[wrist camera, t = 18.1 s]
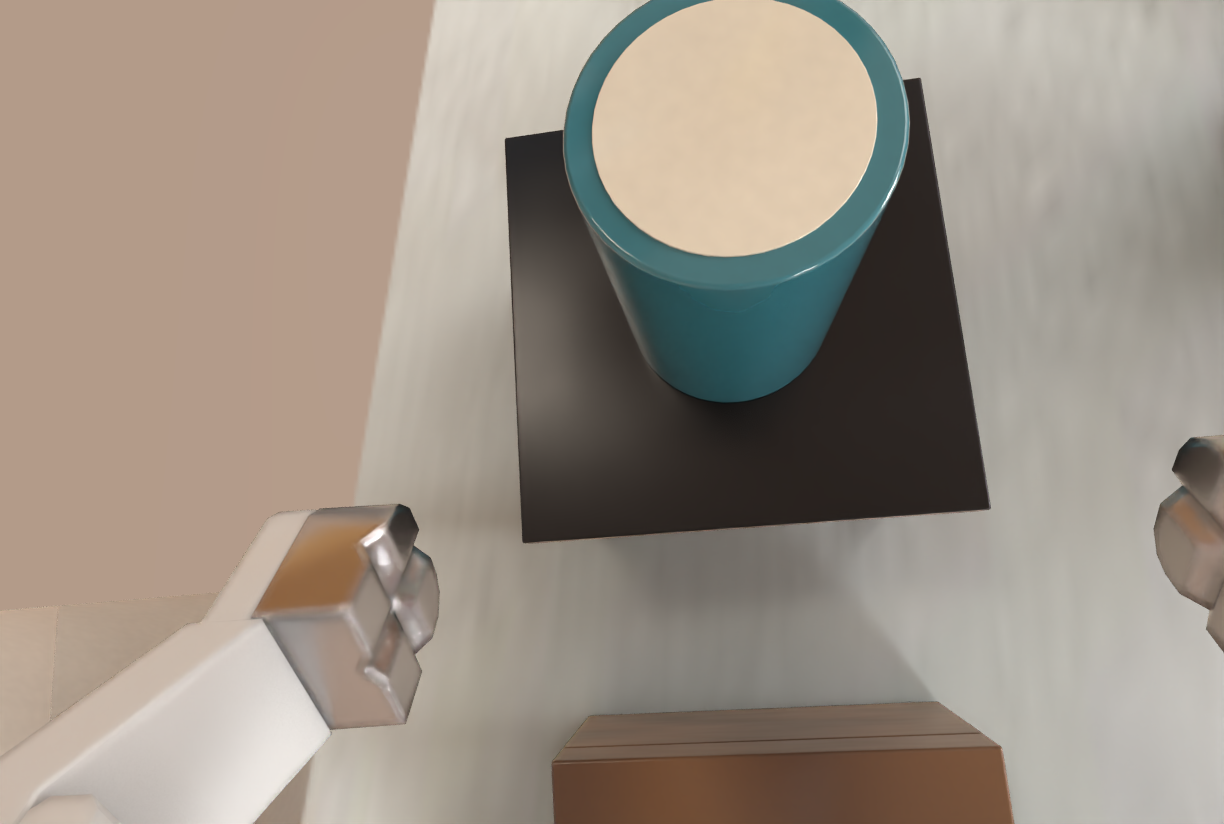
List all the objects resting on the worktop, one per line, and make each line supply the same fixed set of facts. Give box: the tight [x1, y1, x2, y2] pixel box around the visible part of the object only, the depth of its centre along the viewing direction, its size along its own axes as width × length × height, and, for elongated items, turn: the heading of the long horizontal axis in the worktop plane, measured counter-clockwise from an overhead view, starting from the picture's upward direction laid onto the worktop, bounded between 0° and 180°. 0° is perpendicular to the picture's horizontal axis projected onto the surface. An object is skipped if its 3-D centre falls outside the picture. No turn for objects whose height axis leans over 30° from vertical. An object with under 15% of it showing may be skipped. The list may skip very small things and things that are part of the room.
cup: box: [563, 0, 910, 402], centre depth 16 cm, size 5×5×9 cm
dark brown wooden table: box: [505, 78, 991, 544], centre depth 24 cm, size 12×12×8 cm
